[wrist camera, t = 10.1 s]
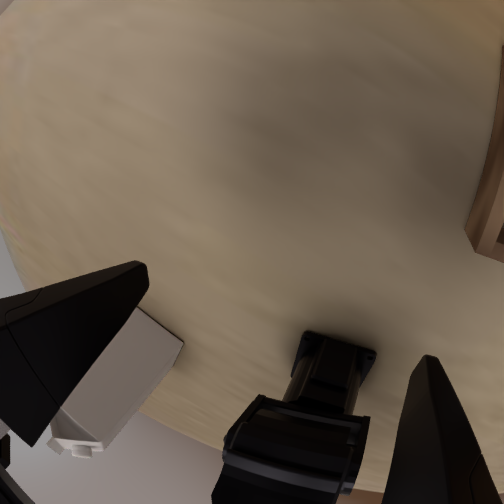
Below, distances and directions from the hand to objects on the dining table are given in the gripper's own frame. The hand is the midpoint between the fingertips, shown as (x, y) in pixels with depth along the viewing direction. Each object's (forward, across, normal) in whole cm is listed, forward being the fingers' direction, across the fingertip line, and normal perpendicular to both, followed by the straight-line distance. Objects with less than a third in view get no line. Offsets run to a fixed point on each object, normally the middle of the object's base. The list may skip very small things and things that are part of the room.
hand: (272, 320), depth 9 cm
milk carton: (+12, +17, +22) cm, 30 cm away
